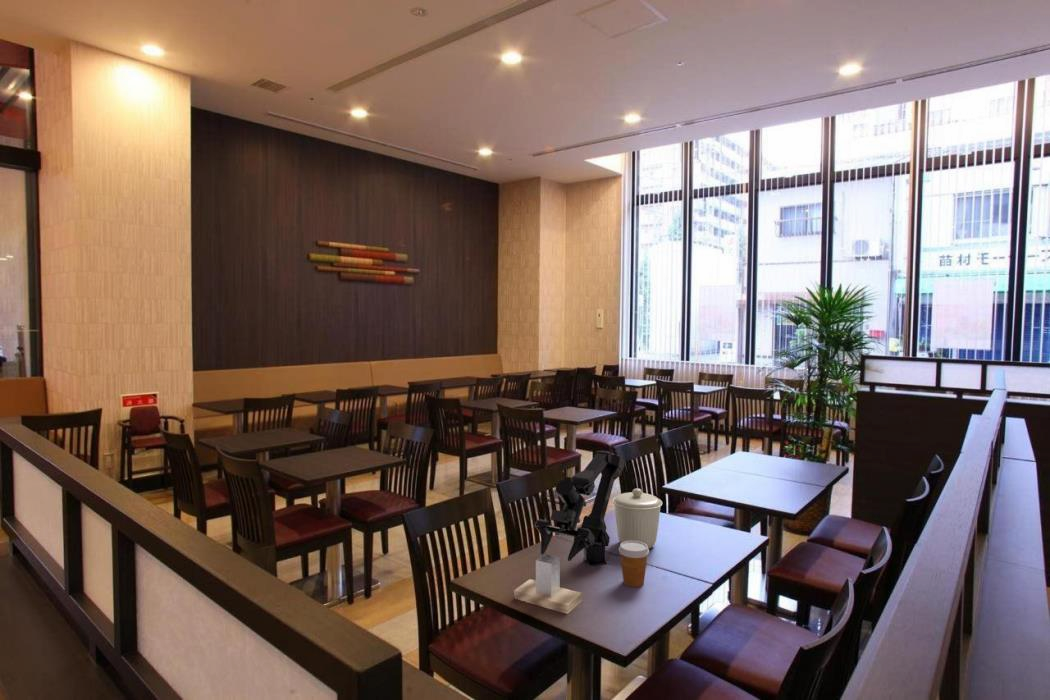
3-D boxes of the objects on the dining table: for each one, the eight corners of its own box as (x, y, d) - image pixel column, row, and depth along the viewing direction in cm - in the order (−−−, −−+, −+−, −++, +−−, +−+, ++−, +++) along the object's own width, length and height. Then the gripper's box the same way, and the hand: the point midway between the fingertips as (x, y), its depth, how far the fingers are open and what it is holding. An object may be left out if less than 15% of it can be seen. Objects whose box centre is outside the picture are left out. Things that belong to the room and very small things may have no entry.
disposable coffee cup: (612, 579, 191) (613, 542, 191) (637, 574, 195) (638, 538, 194) (629, 591, 183) (629, 553, 182) (655, 586, 186) (655, 548, 186)
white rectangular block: (544, 586, 181) (544, 554, 181) (559, 590, 178) (559, 557, 178) (535, 593, 177) (535, 560, 176) (551, 597, 174) (551, 563, 173)
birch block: (514, 598, 179) (514, 580, 178) (529, 587, 186) (529, 569, 186) (567, 614, 169) (567, 595, 169) (581, 601, 177) (581, 583, 176)
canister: (671, 544, 220) (672, 488, 219) (644, 558, 207) (644, 499, 206) (630, 532, 233) (630, 479, 232) (602, 545, 220) (602, 488, 219)
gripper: (537, 494, 189) (519, 538, 181) (590, 503, 180) (574, 551, 171) (549, 511, 197) (532, 555, 188) (601, 521, 187) (585, 568, 178)
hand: (555, 557), depth 181 cm, fingers open, 9 cm apart
